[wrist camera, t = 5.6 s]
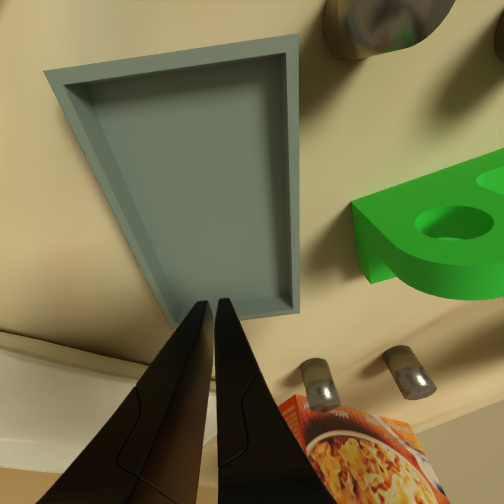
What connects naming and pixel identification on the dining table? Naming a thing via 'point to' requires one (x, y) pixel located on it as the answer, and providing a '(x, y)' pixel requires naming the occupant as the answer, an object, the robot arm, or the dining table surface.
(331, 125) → the dining table surface
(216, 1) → the dining table surface
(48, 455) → the square plate
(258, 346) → the dining table surface
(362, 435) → the pasta box
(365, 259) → the mechanical part
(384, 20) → the spacer posts
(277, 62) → the parts tray
